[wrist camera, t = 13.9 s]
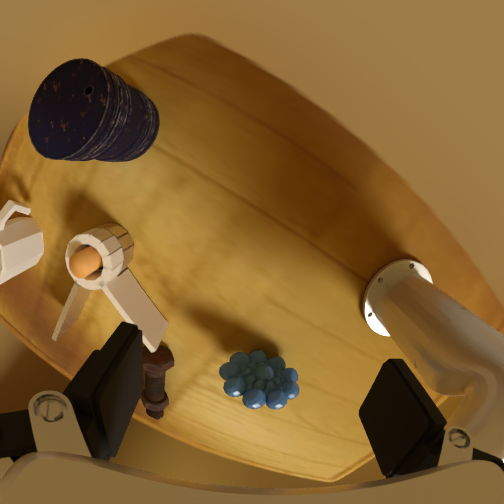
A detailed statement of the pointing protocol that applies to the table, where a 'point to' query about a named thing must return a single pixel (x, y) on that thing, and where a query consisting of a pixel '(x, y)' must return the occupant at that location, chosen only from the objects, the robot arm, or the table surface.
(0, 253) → the mug
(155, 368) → the bolt
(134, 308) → the hinge leaf cream
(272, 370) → the grapes
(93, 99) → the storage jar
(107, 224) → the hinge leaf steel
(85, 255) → the hinge pin
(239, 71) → the table surface
